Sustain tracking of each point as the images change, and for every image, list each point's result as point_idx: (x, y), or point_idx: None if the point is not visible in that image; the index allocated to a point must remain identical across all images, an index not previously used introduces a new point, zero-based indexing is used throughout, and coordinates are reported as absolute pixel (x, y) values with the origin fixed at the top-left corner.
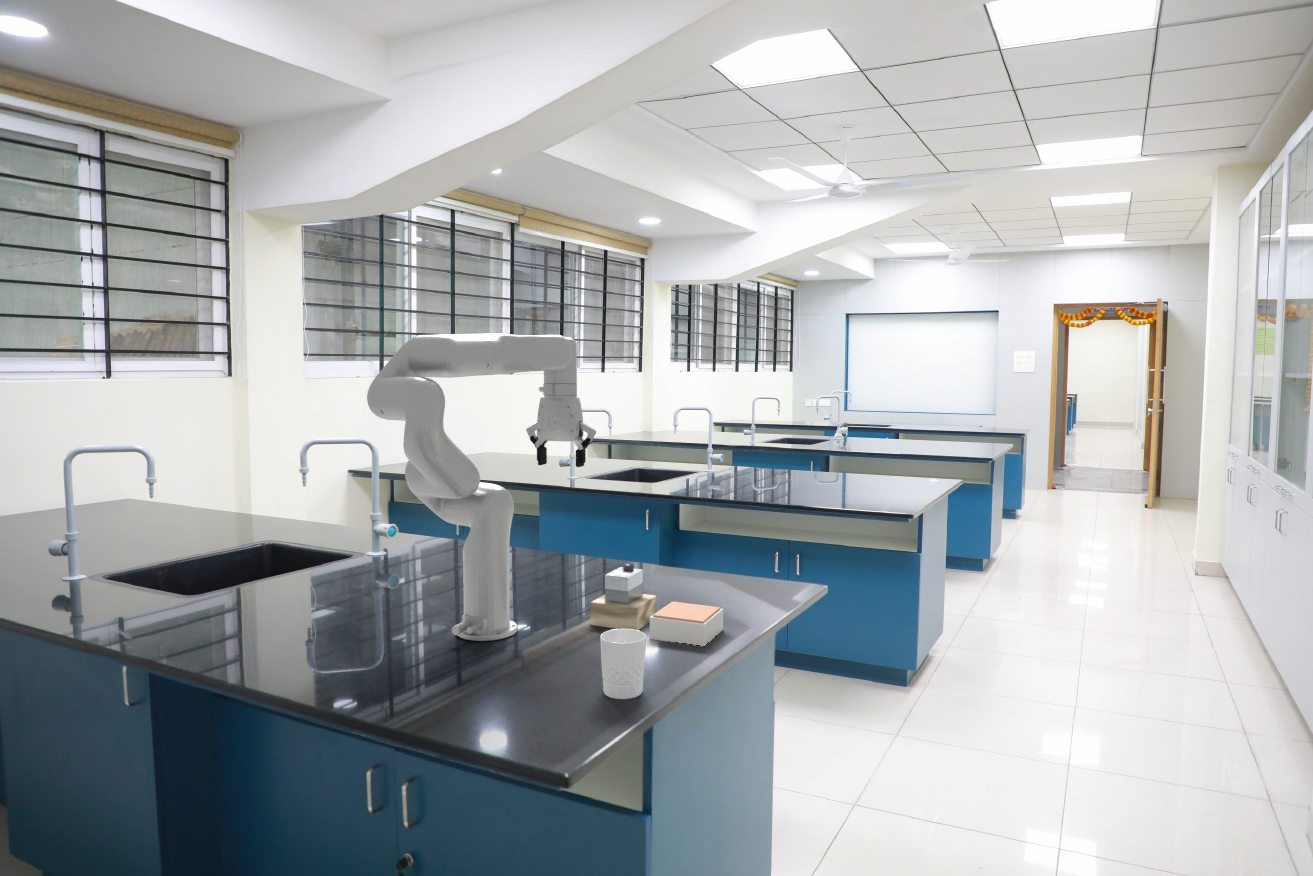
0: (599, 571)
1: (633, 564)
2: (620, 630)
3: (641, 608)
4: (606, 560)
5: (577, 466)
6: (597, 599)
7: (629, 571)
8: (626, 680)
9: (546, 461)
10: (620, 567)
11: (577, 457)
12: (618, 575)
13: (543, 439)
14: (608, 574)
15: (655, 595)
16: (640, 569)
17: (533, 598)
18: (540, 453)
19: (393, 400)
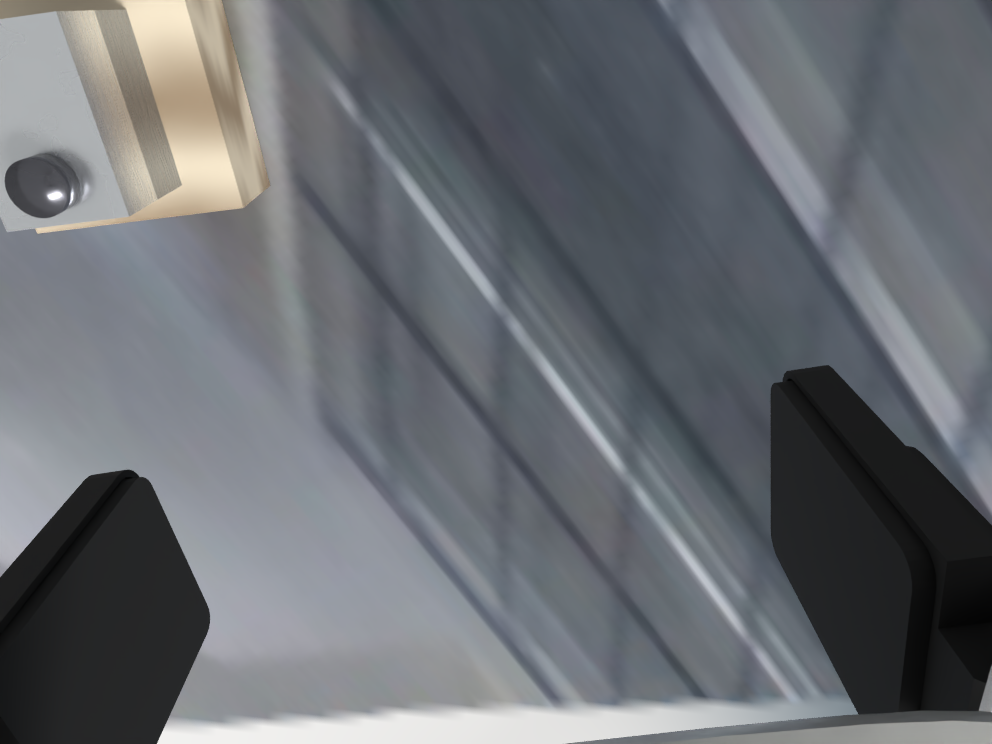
0: (636, 584)
1: (19, 207)
2: None
3: None
4: (690, 693)
5: (109, 472)
6: (185, 30)
7: (21, 157)
8: None
9: (781, 558)
10: (121, 206)
11: (18, 567)
12: None
13: (894, 718)
14: (48, 31)
15: (41, 231)
16: (14, 224)
17: (660, 175)
18: (865, 489)
19: None
